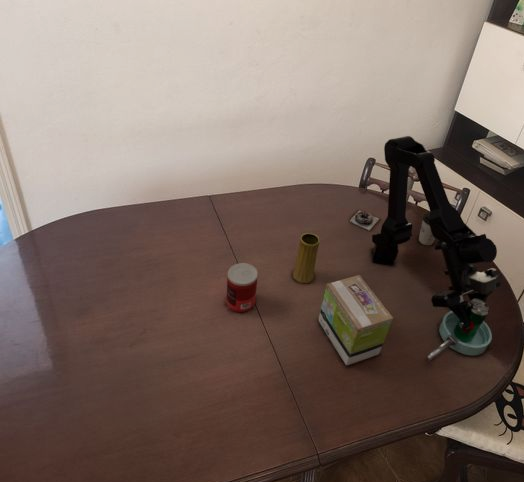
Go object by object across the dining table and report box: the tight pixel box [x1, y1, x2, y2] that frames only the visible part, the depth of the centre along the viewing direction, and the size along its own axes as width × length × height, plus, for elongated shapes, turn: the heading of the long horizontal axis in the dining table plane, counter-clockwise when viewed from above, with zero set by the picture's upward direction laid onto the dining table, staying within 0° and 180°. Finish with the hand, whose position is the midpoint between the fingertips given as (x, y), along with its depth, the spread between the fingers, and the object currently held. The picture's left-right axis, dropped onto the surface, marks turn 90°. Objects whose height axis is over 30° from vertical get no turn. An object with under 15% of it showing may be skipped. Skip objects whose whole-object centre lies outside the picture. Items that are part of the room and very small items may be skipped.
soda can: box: [454, 299, 490, 342], centre depth 118 cm, size 5×5×12 cm
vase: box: [292, 232, 320, 284], centre depth 130 cm, size 6×6×14 cm
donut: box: [349, 210, 380, 231], centre depth 158 cm, size 8×8×2 cm
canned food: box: [225, 262, 259, 313], centre depth 121 cm, size 8×8×11 cm
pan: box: [438, 310, 493, 356], centre depth 121 cm, size 12×12×4 cm
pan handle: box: [425, 334, 458, 362], centre depth 114 cm, size 11×2×2 cm, turn 127°
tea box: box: [318, 274, 394, 366], centre depth 114 cm, size 15×10×15 cm, turn 23°
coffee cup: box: [418, 211, 437, 246], centre depth 150 cm, size 7×7×10 cm
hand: (475, 323), depth 117 cm, fingers closed on soda can, 5 cm apart
